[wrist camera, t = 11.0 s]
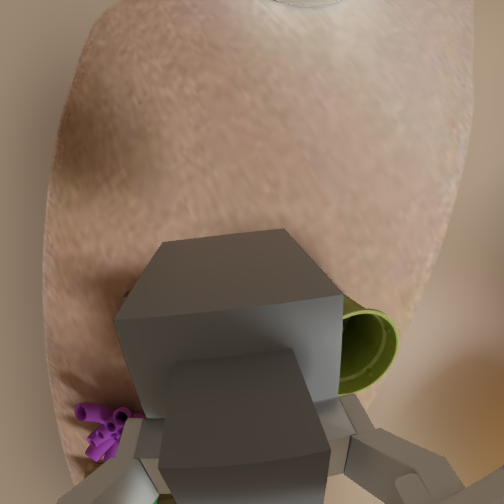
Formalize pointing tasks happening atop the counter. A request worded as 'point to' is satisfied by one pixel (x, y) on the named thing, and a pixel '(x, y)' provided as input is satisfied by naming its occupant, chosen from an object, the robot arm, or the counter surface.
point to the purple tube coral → (104, 428)
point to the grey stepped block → (236, 366)
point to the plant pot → (365, 347)
